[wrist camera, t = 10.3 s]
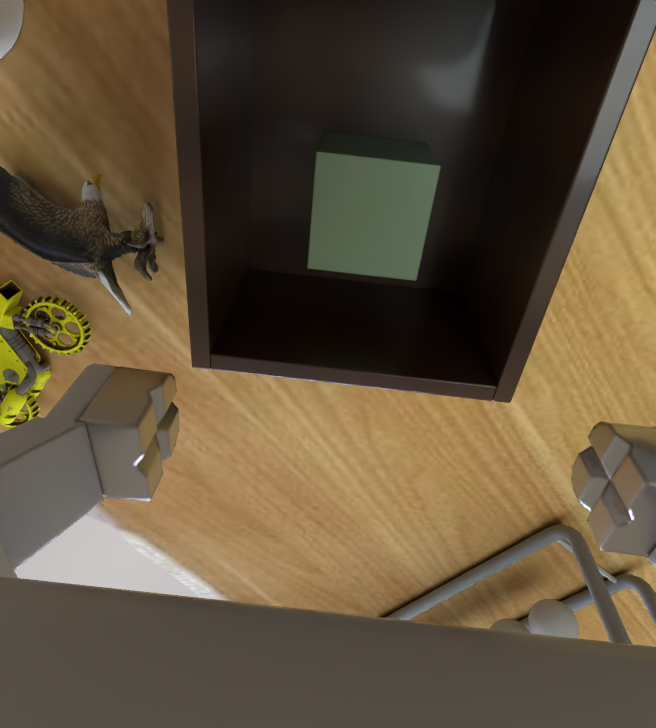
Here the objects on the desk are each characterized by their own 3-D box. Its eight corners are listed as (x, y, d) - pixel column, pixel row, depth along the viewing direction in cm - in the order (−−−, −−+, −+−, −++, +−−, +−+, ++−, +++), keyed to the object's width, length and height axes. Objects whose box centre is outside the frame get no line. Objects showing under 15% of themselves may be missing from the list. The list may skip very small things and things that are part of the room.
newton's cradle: (569, 511, 38) (699, 807, 24) (644, 568, 42) (799, 859, 27) (325, 647, 52) (311, 889, 37) (396, 682, 55) (409, 916, 41)
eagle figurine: (162, 136, 24) (-49, 98, 22) (141, 262, 21) (-102, 230, 19) (171, 232, 31) (11, 209, 29) (155, 335, 28) (-22, 317, 26)
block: (324, 131, 24) (316, 150, 19) (427, 143, 24) (441, 165, 19) (315, 232, 26) (306, 268, 22) (407, 243, 26) (416, 281, 22)
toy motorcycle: (8, 454, 33) (-100, 396, 31) (40, 418, 36) (-55, 363, 34) (84, 340, 27) (-40, 260, 25) (114, 309, 31) (6, 236, 28)
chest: (468, 301, 29) (511, 403, 21) (239, 274, 29) (191, 367, 21) (565, -39, 20) (703, -90, 12) (238, -78, 20) (154, -156, 12)
